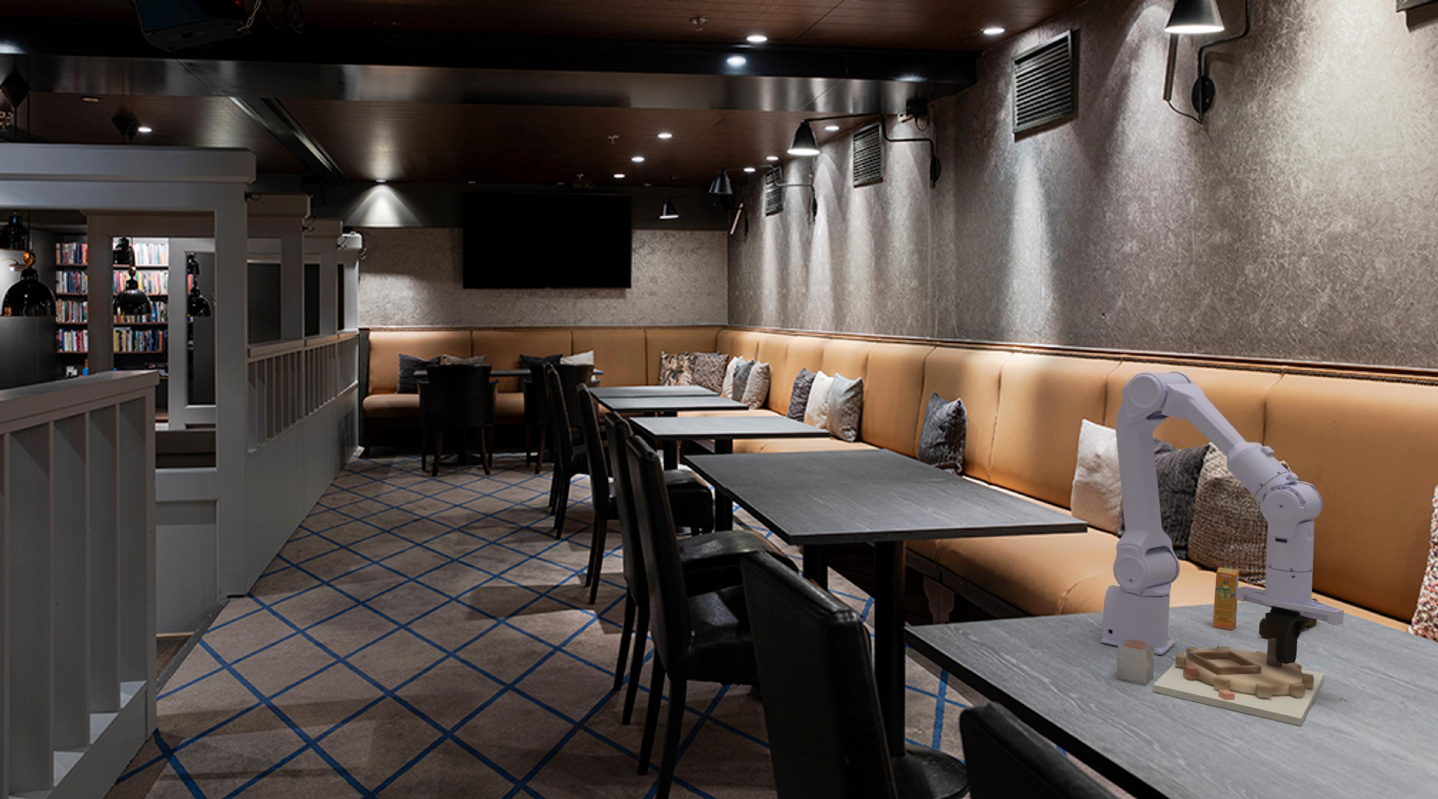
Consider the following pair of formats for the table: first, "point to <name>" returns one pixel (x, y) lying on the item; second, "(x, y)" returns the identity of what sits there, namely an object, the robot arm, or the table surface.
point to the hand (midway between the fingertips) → (1285, 661)
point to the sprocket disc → (1245, 671)
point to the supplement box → (1225, 598)
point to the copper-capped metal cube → (1135, 661)
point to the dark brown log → (1268, 633)
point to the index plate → (1240, 696)
